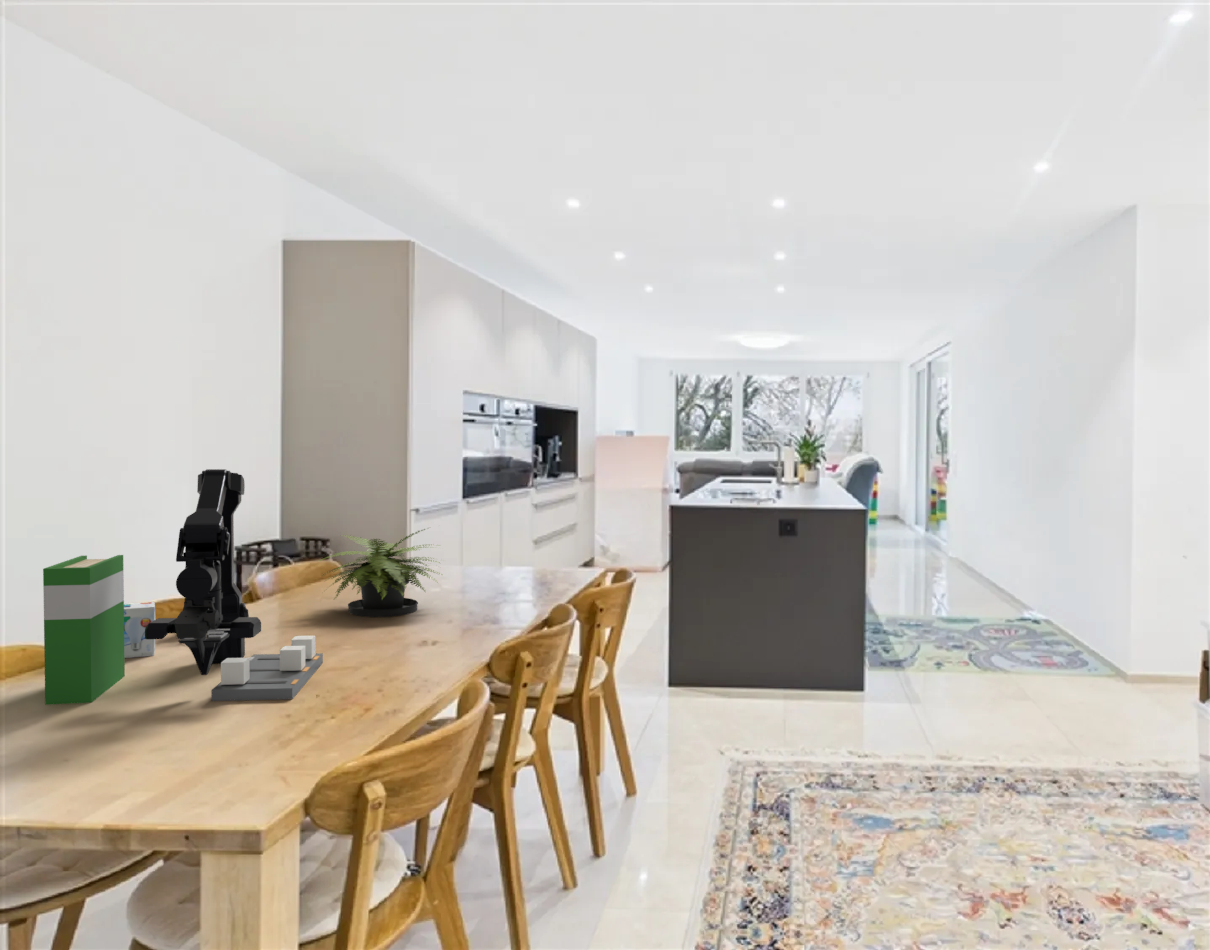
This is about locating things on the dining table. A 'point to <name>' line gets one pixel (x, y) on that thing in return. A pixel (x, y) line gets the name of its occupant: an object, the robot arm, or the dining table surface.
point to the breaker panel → (268, 680)
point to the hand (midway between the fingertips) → (204, 674)
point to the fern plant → (382, 579)
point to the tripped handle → (235, 671)
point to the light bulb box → (138, 629)
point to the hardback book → (83, 628)
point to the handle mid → (292, 658)
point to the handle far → (307, 642)
